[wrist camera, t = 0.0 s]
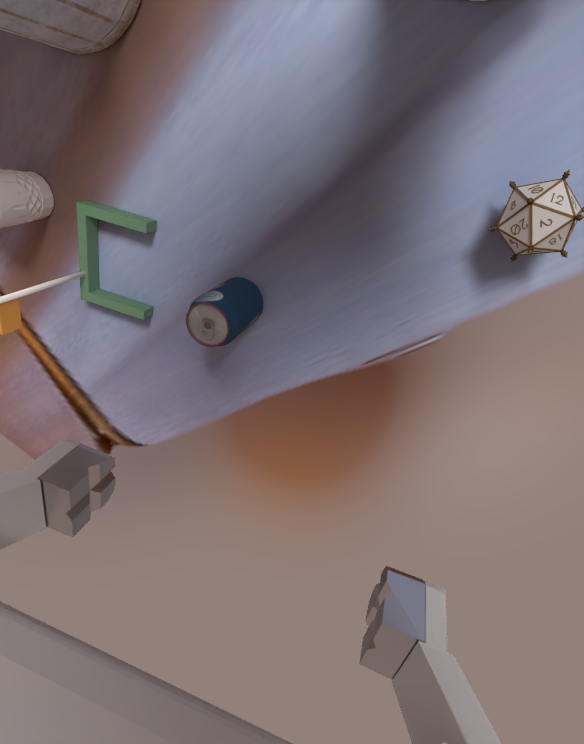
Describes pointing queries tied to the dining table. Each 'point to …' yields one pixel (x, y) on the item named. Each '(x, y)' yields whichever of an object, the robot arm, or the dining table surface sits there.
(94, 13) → the milk can
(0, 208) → the white cup
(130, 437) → the dining table surface
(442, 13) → the dining table surface
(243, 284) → the soda can
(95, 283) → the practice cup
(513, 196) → the game die
